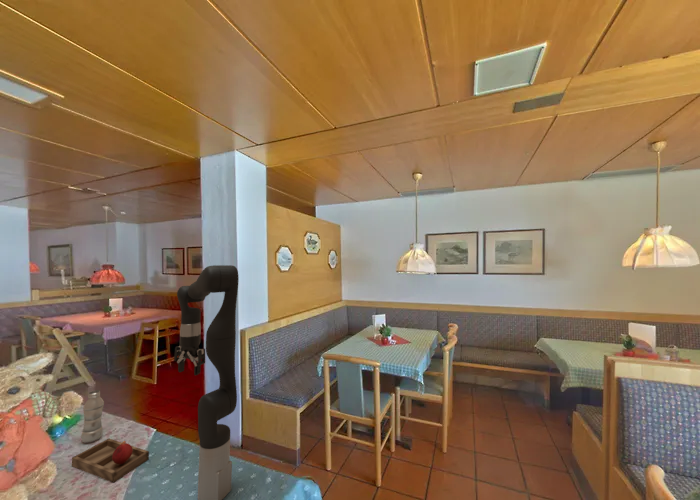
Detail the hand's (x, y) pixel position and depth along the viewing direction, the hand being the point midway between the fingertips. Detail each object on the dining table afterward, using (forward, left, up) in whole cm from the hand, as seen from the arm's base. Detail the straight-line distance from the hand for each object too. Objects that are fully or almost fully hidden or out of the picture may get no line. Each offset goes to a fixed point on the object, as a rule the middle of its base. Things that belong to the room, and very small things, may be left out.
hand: (189, 373), depth 116 cm
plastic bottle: (+41, +10, -30) cm, 52 cm away
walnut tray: (+19, +16, -30) cm, 39 cm away
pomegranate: (+13, +16, -29) cm, 36 cm away
